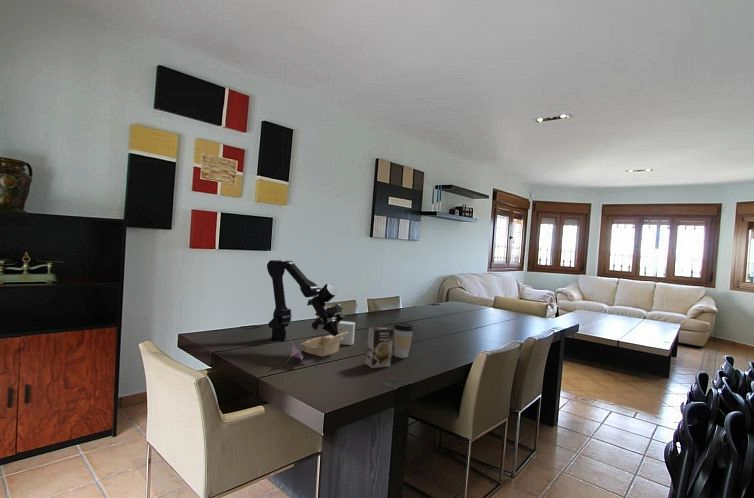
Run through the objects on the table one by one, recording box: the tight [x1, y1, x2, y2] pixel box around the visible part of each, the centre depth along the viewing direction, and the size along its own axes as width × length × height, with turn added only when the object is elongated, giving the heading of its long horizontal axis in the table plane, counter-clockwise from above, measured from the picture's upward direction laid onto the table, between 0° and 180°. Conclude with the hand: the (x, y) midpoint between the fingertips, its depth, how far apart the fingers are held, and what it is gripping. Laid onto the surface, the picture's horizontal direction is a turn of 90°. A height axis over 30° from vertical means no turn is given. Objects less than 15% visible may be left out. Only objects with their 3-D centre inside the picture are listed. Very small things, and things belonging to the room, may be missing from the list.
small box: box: [337, 320, 356, 346], centre depth 200 cm, size 8×6×10 cm
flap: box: [325, 332, 348, 345], centre depth 179 cm, size 8×10×1 cm
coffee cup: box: [393, 322, 414, 359], centre depth 186 cm, size 9×9×15 cm
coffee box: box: [365, 326, 395, 369], centre depth 170 cm, size 9×6×16 cm
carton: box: [300, 334, 344, 358], centre depth 183 cm, size 11×22×5 cm, turn 151°
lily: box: [285, 337, 306, 365], centre depth 163 cm, size 12×12×10 cm
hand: (338, 336), depth 179 cm, fingers closed, pressing on flap
